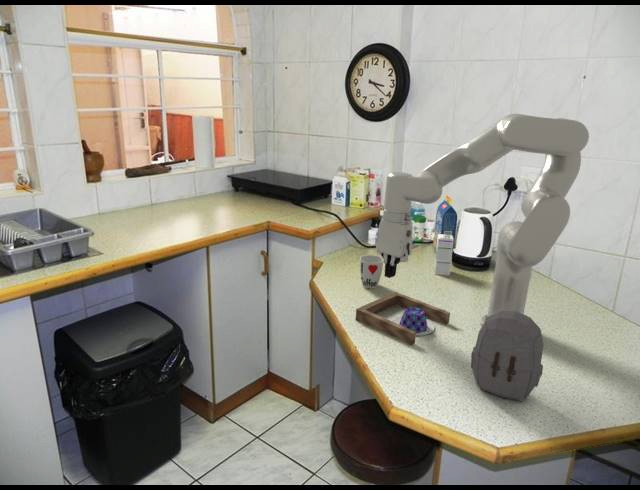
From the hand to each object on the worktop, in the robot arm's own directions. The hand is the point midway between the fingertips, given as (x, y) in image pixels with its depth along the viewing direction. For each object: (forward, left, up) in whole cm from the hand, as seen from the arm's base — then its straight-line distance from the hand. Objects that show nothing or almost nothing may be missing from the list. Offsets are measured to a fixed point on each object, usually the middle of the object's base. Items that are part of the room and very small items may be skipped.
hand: (389, 276), depth 138 cm
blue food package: (+20, -65, -13) cm, 70 cm away
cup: (+18, -14, -13) cm, 27 cm away
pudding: (-9, 0, -14) cm, 17 cm away
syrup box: (+8, -45, -13) cm, 48 cm away
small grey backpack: (-42, +12, -13) cm, 45 cm away
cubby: (-6, 0, -13) cm, 14 cm away
